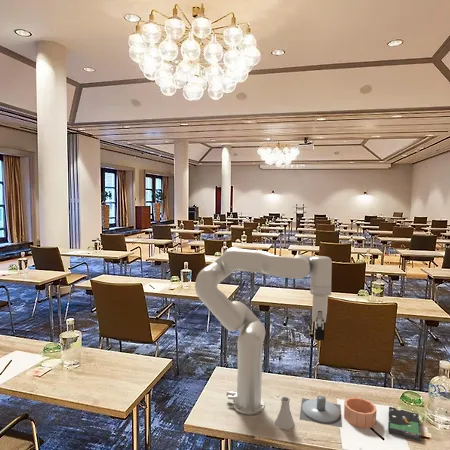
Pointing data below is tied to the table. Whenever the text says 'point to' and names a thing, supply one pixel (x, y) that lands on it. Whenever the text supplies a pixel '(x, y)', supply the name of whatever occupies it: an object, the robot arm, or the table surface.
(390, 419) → the disk drive
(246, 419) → the table surface
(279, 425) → the flask
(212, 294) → the robot arm
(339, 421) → the mat
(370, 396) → the table surface
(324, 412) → the lid
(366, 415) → the bowl
